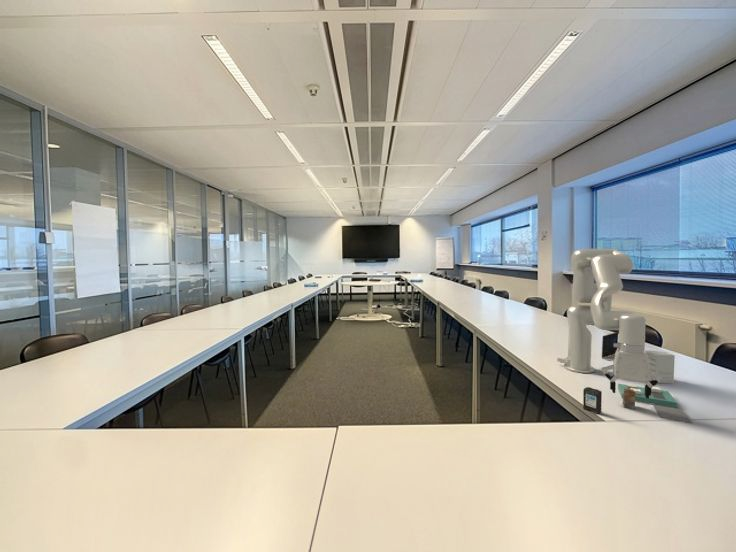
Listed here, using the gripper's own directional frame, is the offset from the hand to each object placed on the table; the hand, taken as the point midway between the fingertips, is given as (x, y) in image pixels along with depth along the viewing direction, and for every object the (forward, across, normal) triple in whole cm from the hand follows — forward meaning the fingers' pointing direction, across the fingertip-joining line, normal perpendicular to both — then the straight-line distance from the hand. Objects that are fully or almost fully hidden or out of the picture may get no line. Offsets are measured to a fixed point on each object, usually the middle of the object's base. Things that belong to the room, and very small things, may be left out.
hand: (629, 394), depth 121 cm
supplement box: (+4, +16, +40) cm, 43 cm away
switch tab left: (+2, +3, +10) cm, 11 cm away
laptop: (+4, +7, +70) cm, 70 cm away
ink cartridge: (+5, -12, -10) cm, 17 cm away
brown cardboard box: (+5, 0, 0) cm, 5 cm away
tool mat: (+5, +12, 0) cm, 13 cm away
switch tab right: (+2, +10, +16) cm, 20 cm away
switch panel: (+4, +7, +14) cm, 16 cm away
